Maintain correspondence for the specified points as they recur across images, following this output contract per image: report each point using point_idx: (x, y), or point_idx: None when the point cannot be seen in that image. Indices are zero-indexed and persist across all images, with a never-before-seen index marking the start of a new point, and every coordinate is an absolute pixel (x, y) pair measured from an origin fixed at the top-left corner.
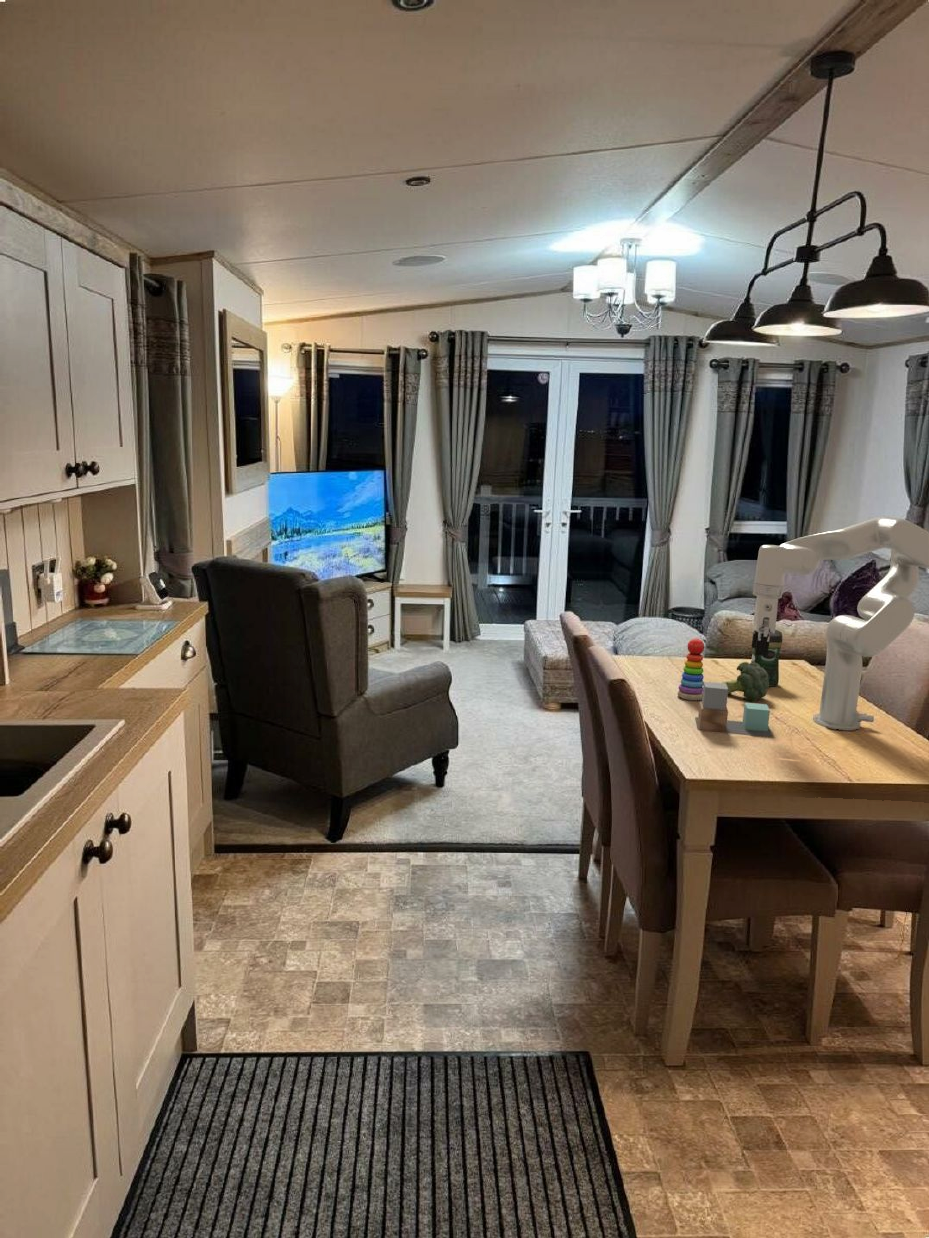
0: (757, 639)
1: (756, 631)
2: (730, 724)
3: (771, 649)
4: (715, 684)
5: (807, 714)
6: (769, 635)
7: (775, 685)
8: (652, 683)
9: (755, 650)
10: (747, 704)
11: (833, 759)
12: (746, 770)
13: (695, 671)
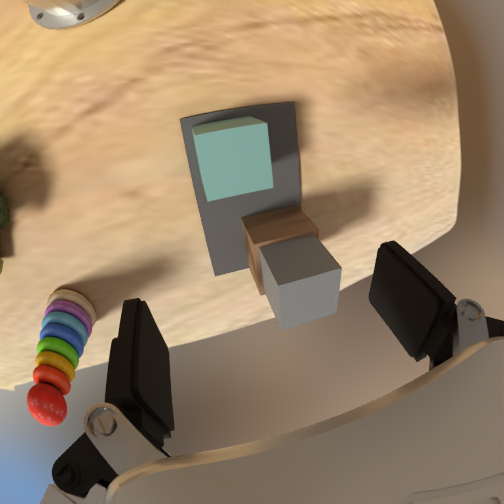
0: (160, 384)
1: (164, 450)
2: (232, 203)
3: None
4: (301, 303)
5: (27, 55)
6: (488, 336)
7: None
8: None
9: (381, 314)
10: (228, 191)
11: (371, 10)
12: (442, 166)
13: (72, 352)
